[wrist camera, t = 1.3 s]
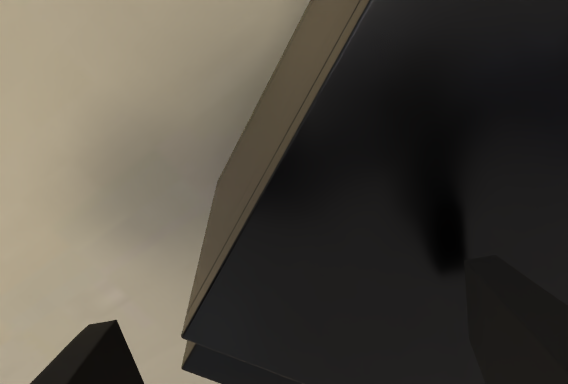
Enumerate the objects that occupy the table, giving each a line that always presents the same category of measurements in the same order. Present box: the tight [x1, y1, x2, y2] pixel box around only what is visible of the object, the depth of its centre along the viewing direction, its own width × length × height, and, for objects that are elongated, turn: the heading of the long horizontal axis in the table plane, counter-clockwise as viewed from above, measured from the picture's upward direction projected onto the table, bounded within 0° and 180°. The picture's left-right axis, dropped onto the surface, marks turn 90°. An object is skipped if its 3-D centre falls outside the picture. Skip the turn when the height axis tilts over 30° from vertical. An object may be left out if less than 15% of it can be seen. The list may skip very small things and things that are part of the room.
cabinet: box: [181, 0, 568, 384], centre depth 15 cm, size 14×13×9 cm
